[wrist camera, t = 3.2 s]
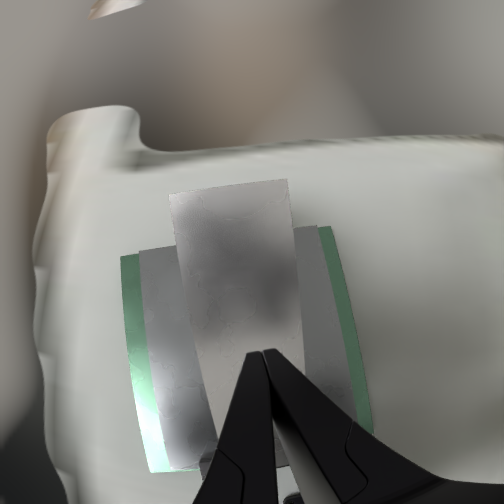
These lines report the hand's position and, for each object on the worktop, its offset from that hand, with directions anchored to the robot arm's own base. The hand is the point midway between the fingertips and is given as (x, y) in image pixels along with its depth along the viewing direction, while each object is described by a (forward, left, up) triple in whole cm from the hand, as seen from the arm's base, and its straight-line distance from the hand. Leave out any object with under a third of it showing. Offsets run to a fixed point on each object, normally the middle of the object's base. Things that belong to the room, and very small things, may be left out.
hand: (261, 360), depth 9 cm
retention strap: (0, 0, -4) cm, 4 cm away
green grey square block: (+1, 0, -14) cm, 14 cm away
